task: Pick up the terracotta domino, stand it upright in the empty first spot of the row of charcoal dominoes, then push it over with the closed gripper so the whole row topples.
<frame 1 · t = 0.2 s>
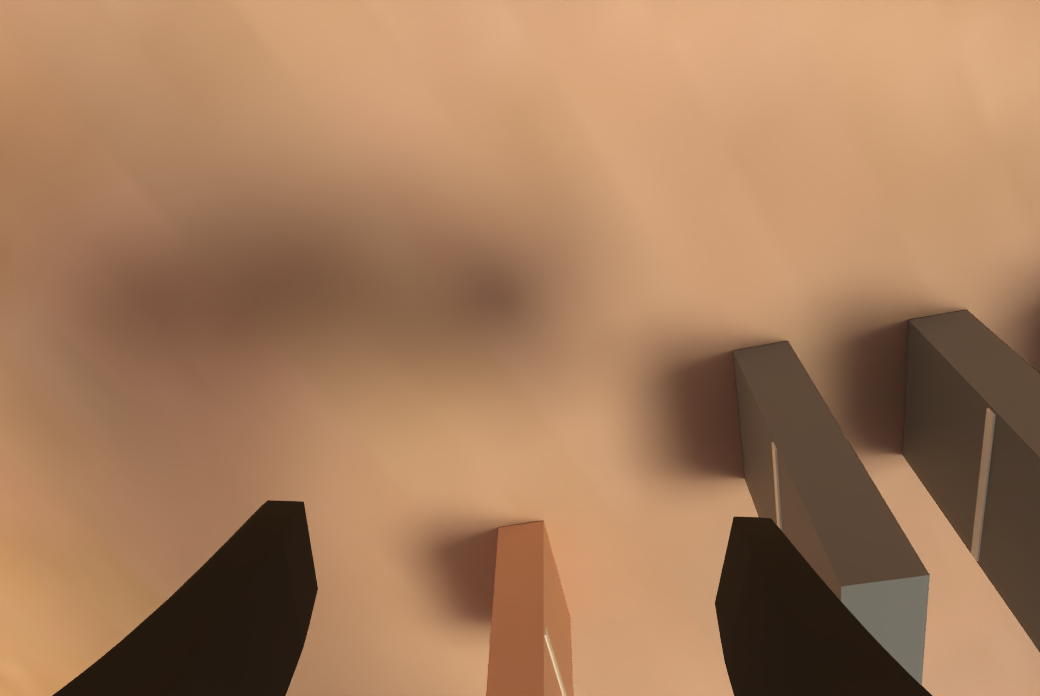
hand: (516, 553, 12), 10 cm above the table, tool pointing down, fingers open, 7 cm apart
terracotta domino: (535, 574, 26), on the table
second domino: (765, 413, 23), on the table
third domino: (933, 386, 22), on the table
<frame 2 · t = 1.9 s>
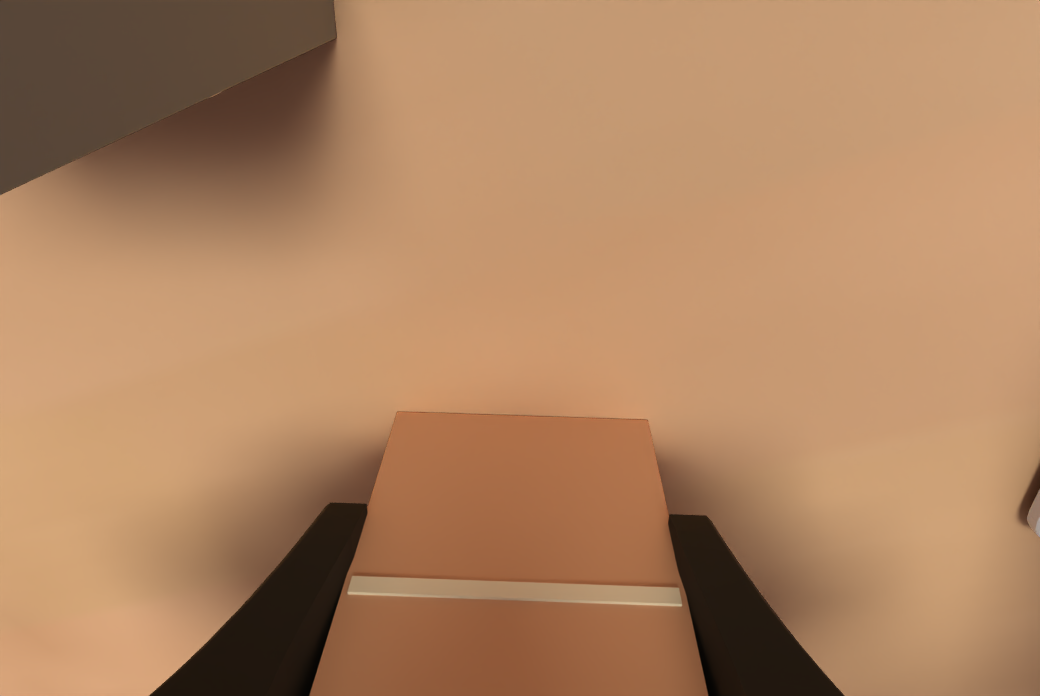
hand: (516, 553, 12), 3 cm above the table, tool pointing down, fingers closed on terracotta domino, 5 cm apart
terracotta domino: (521, 448, 15), on the table, touching gripper
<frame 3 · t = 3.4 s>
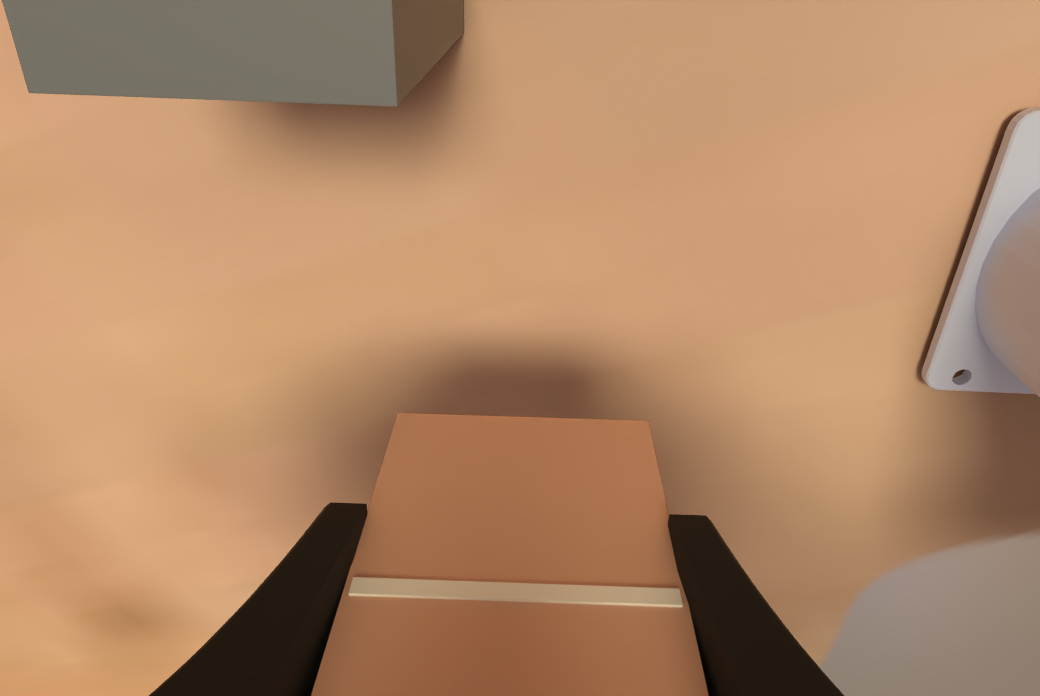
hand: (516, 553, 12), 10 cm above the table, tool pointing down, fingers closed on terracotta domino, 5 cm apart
terracotta domino: (521, 449, 15), point 7 cm above the table, touching gripper
when the fingers open (4 cm above the table, at t = 5.3 s): terracotta domino drops 1 cm, on the table.
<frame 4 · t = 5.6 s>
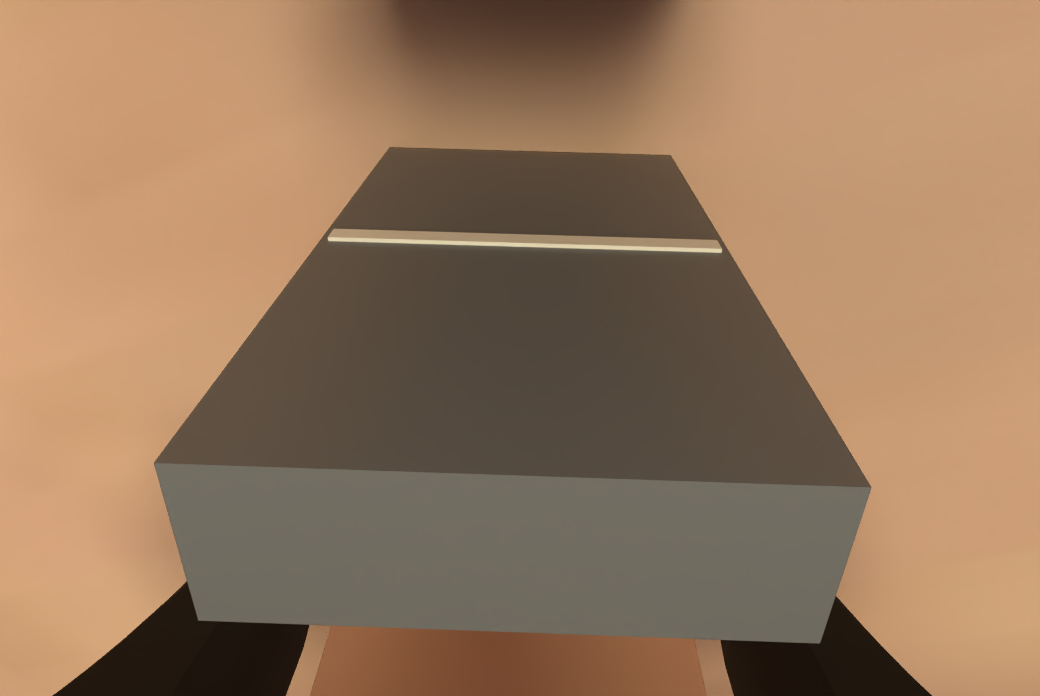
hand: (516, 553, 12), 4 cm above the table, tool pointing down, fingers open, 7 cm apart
terracotta domino: (521, 421, 16), on the table
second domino: (528, 195, 13), on the table
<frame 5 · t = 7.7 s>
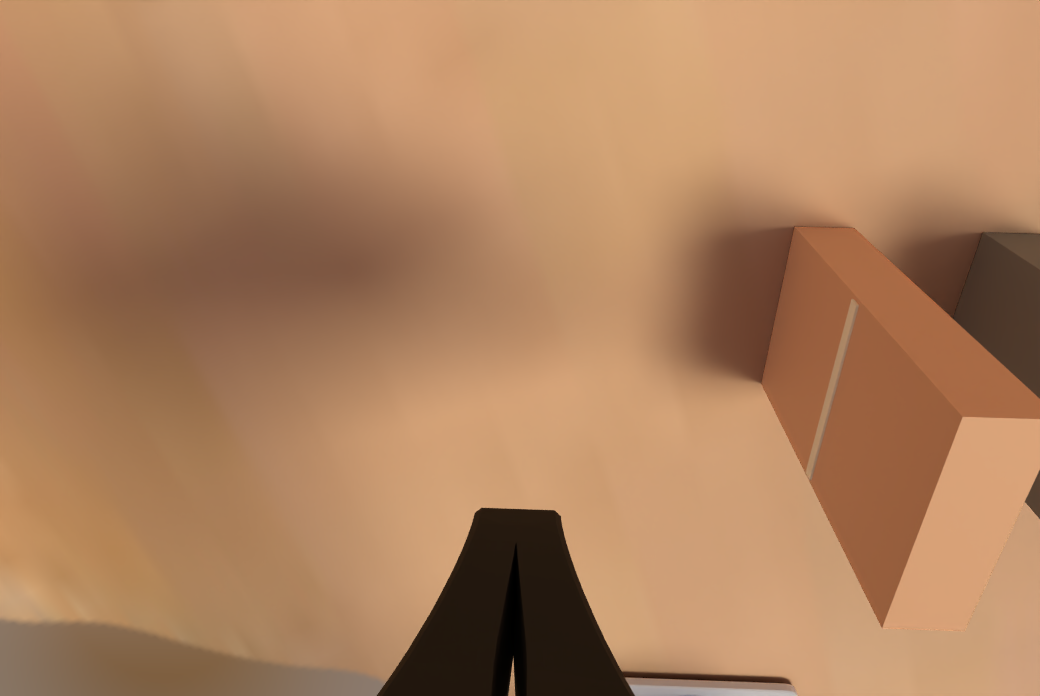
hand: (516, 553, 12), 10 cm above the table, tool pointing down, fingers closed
terracotta domino: (804, 310, 21), on the table
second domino: (982, 316, 21), on the table
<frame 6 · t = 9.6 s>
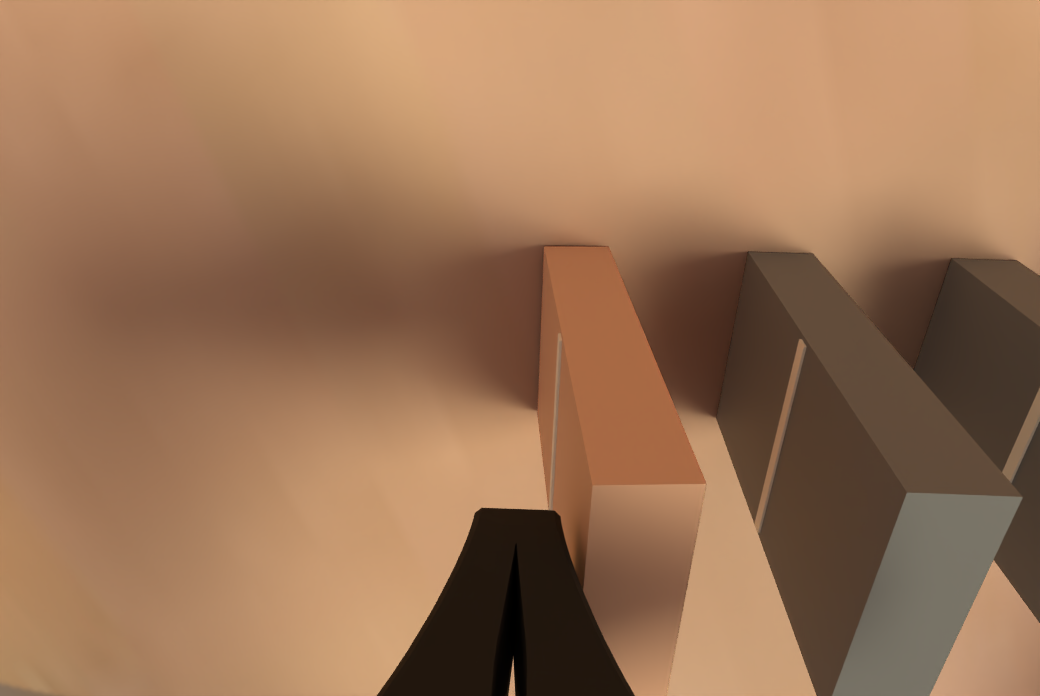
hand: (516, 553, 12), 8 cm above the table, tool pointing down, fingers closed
terracotta domino: (570, 335, 19), on the table
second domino: (761, 341, 19), on the table
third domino: (952, 347, 19), on the table
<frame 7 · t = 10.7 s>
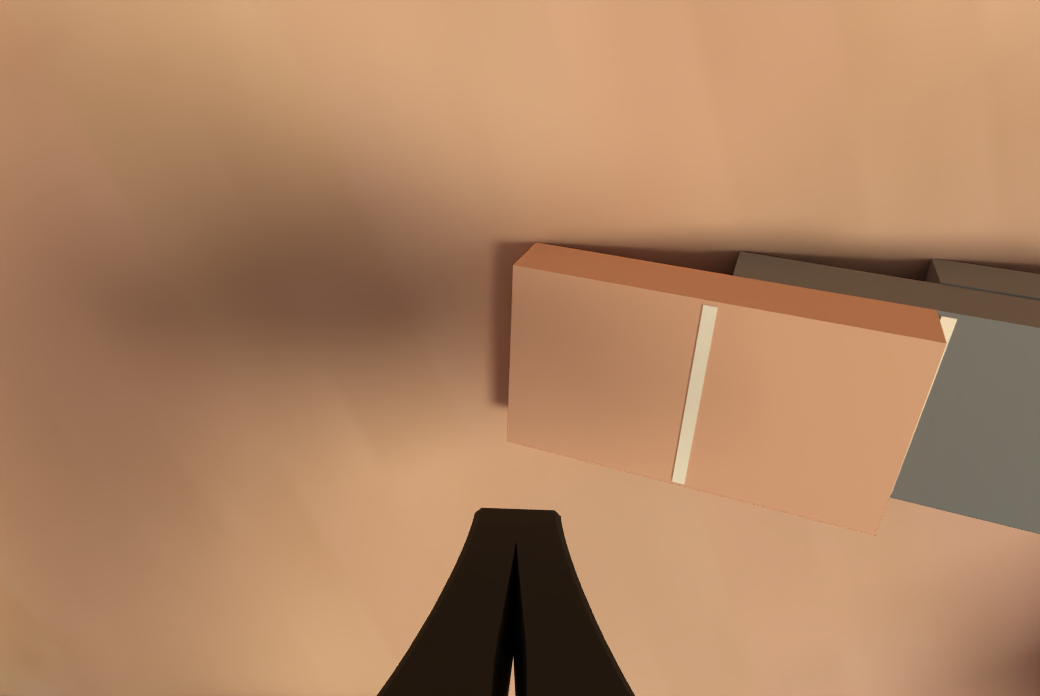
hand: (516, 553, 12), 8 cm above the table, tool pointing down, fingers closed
terracotta domino: (521, 344, 19), point 1 cm above the table, tilted 71°, touching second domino
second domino: (718, 353, 18), point 1 cm above the table, tilted 71°, touching terracotta domino, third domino
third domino: (904, 360, 19), point 1 cm above the table, tilted 71°, touching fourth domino, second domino
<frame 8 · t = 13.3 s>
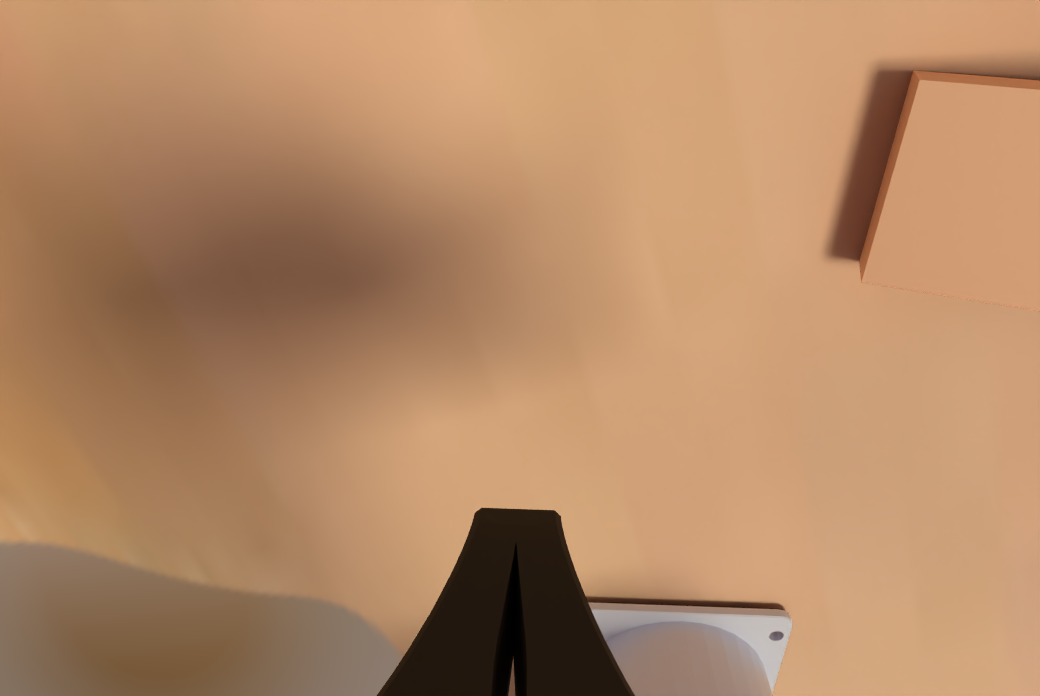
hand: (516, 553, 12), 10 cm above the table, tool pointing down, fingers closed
terracotta domino: (886, 179, 18), point 1 cm above the table, tilted 71°, touching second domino
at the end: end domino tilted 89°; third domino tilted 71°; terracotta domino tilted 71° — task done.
